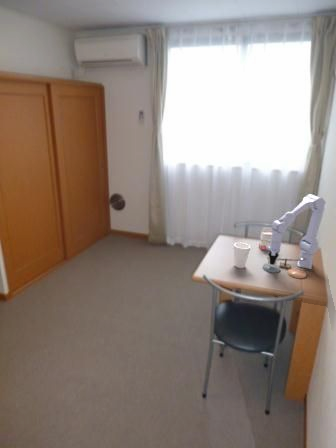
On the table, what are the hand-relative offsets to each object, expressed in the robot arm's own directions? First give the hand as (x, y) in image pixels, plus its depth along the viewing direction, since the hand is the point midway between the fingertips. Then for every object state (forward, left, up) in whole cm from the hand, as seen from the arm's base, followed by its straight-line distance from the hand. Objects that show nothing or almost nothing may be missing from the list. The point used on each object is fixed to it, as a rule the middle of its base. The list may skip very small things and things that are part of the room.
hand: (272, 262), depth 191 cm
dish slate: (0, 0, -4) cm, 4 cm away
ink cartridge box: (-30, -7, -4) cm, 31 cm away
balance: (-8, +7, -4) cm, 11 cm away
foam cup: (+5, -18, -4) cm, 19 cm away
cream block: (0, 0, -2) cm, 2 cm away
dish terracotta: (0, +14, -4) cm, 15 cm away
